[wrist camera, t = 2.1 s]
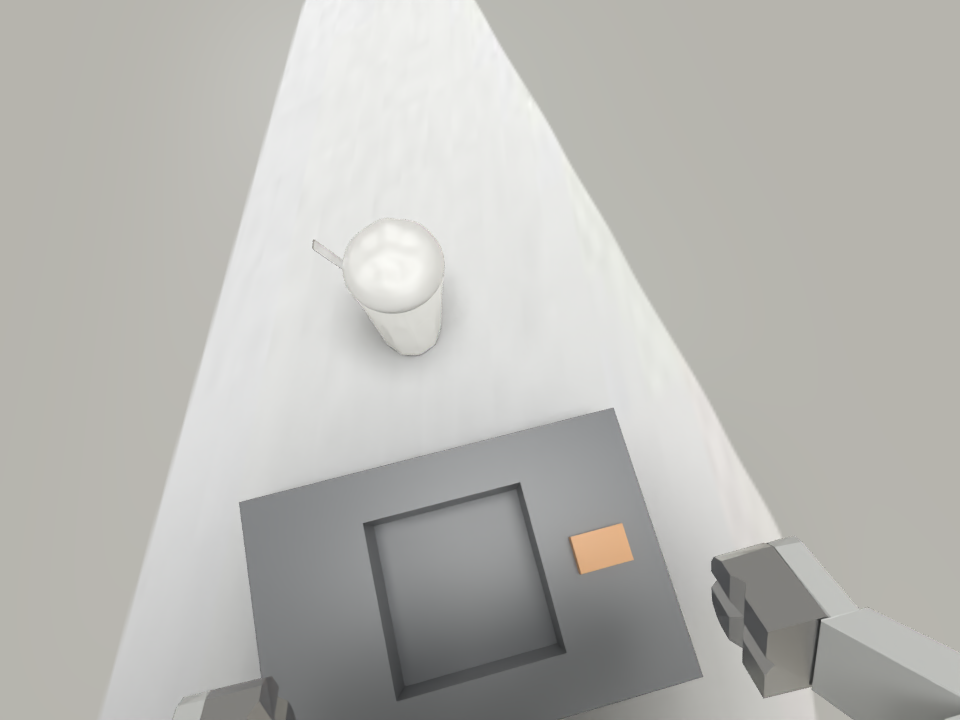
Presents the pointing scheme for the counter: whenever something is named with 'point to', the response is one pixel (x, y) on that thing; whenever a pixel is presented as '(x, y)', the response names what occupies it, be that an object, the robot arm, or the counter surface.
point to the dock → (468, 584)
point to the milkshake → (396, 281)
